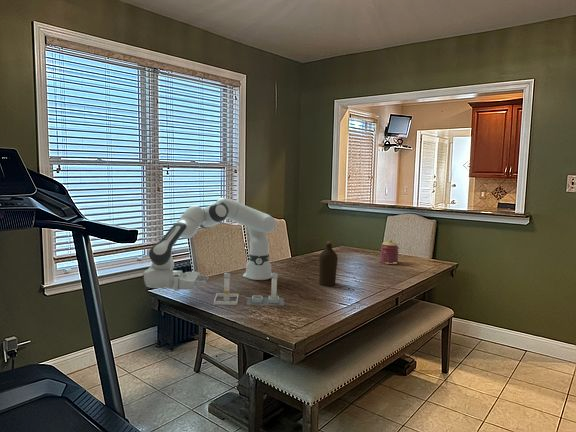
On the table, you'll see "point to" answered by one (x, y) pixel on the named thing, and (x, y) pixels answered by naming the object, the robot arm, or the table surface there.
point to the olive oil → (327, 266)
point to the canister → (389, 252)
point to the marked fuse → (226, 287)
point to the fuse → (274, 285)
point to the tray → (226, 301)
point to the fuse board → (264, 300)
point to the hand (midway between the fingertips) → (207, 280)
